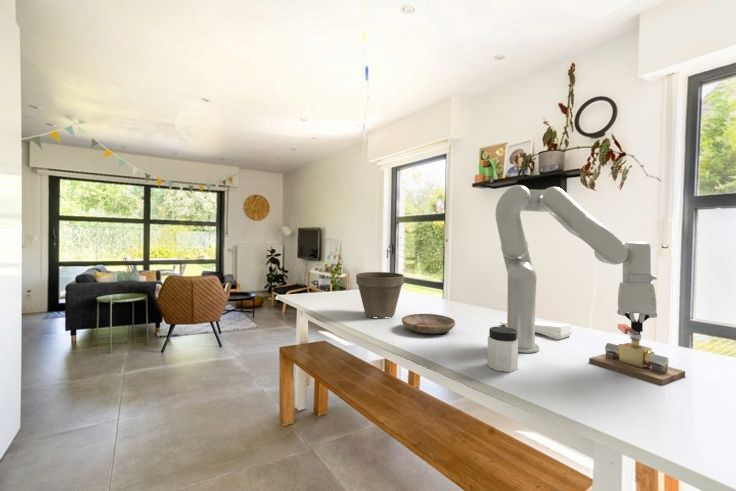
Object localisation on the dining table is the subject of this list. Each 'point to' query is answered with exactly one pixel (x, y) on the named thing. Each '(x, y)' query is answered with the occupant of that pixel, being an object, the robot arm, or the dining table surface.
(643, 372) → the base board
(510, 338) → the jar
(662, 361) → the ball valve
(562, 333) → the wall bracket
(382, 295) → the plant pot
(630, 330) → the lever
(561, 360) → the dining table surface
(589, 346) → the dining table surface
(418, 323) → the ceramic bowl
